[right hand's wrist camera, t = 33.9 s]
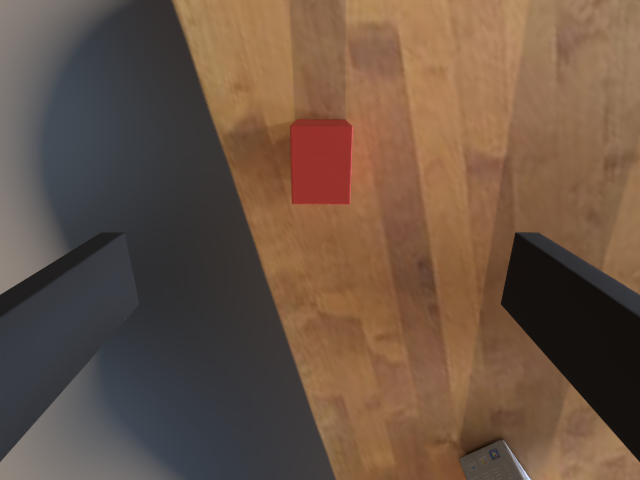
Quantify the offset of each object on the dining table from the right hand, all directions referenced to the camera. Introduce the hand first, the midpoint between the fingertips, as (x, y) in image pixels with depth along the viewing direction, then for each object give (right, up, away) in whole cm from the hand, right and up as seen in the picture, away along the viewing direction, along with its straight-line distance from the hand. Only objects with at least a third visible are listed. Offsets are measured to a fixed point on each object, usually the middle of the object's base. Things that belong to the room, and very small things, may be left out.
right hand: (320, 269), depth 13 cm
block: (0, +11, +27) cm, 29 cm away
